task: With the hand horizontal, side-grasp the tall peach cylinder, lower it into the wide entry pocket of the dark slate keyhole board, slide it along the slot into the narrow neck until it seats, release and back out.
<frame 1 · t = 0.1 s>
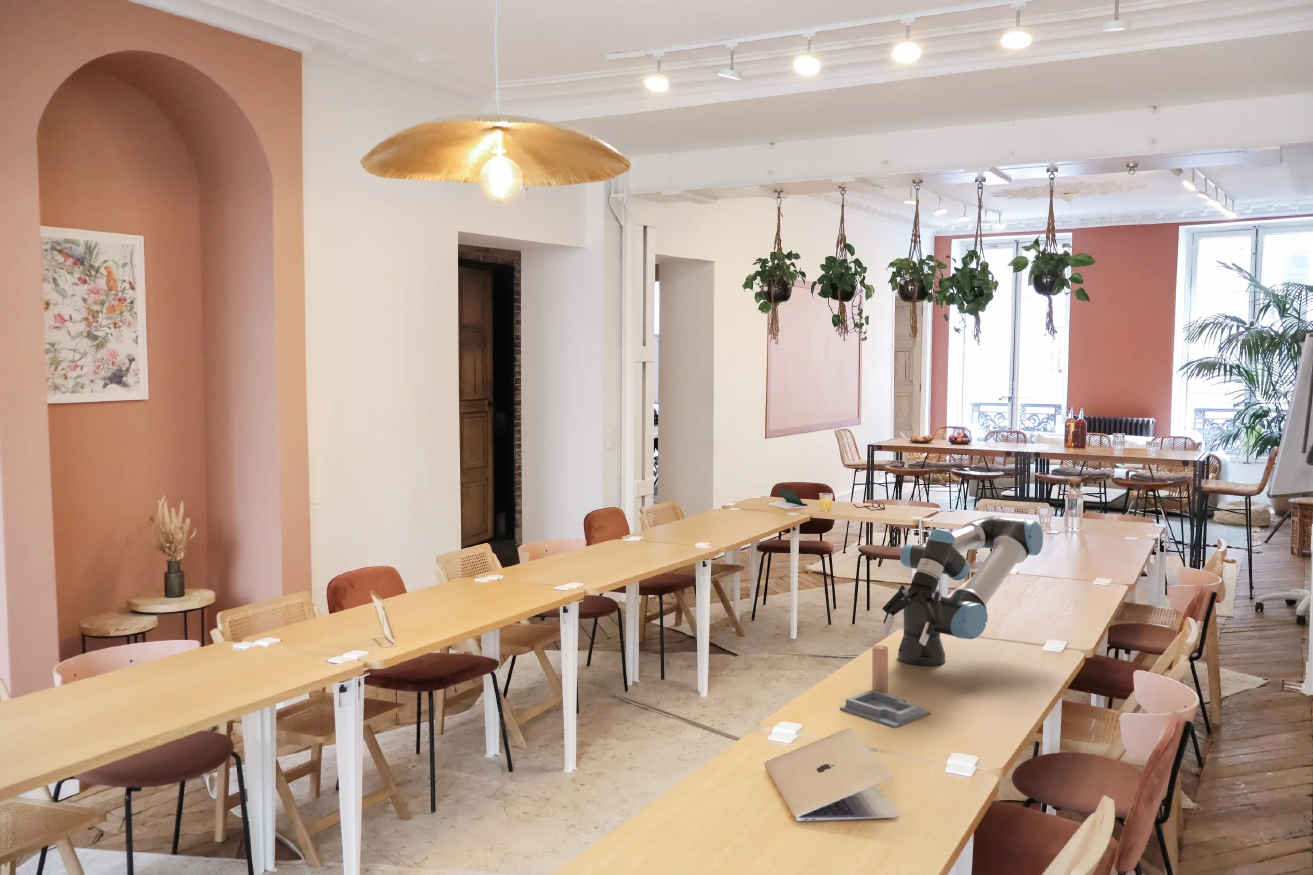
hand: (902, 639, 294), 15 cm above the table, tool tilted 35°, fingers open, 13 cm apart
keyhole board: (884, 711, 276), on the table
tall peach cylinder: (880, 693, 290), on the table
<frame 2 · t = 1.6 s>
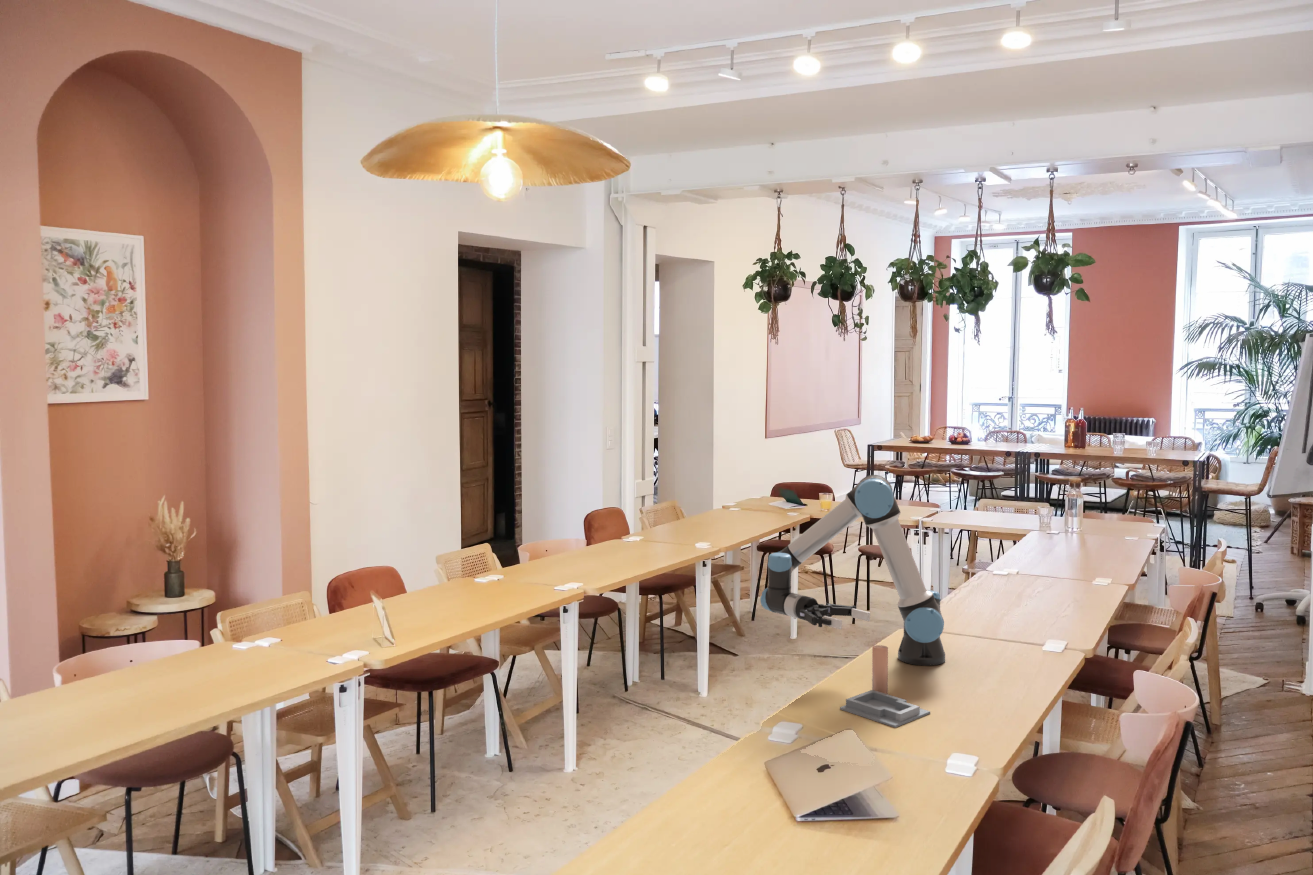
hand: (855, 620, 296), 20 cm above the table, tool horizontal, fingers open, 13 cm apart
nothing on the table moved.
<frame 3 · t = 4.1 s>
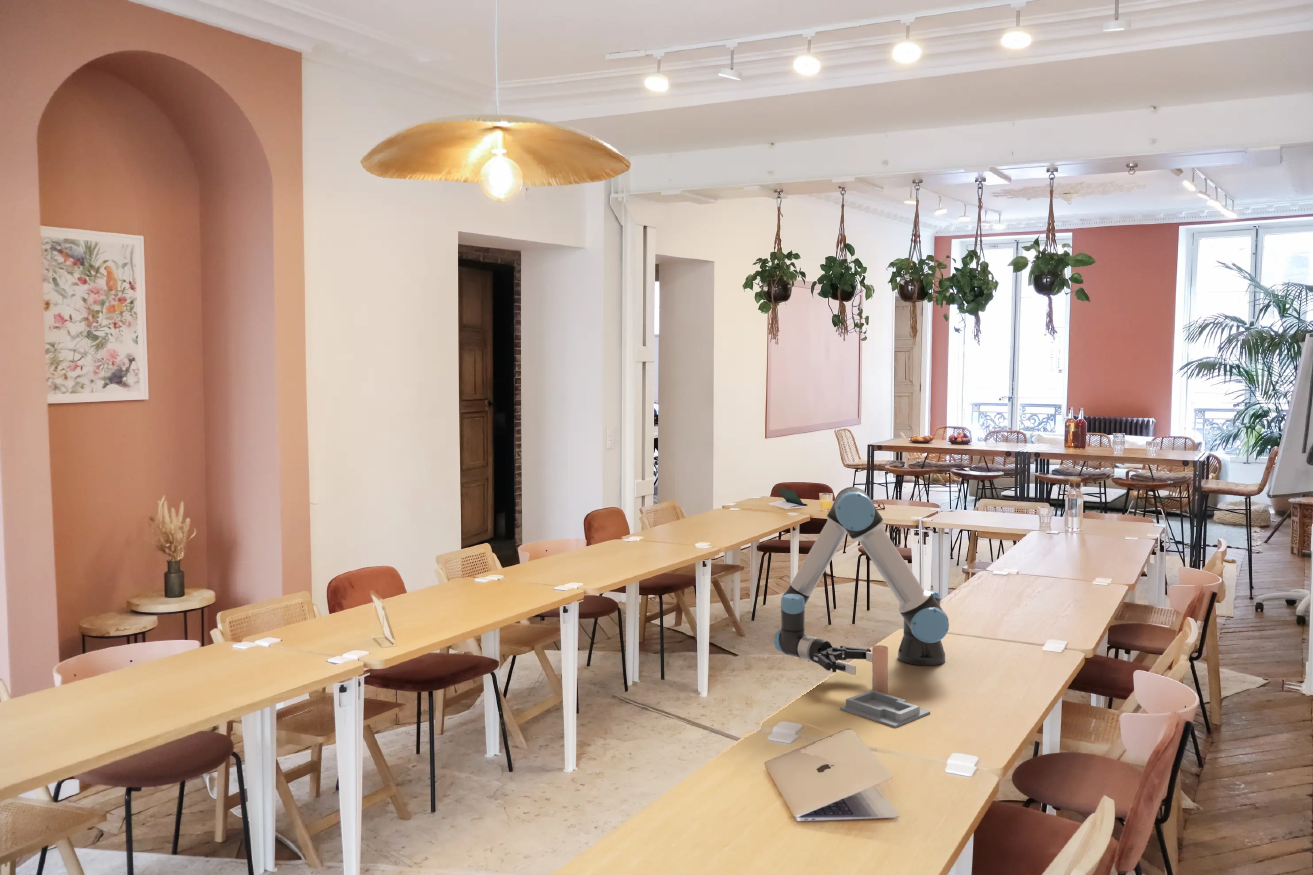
hand: (870, 665, 292), 8 cm above the table, tool horizontal, fingers open, 13 cm apart
nothing on the table moved.
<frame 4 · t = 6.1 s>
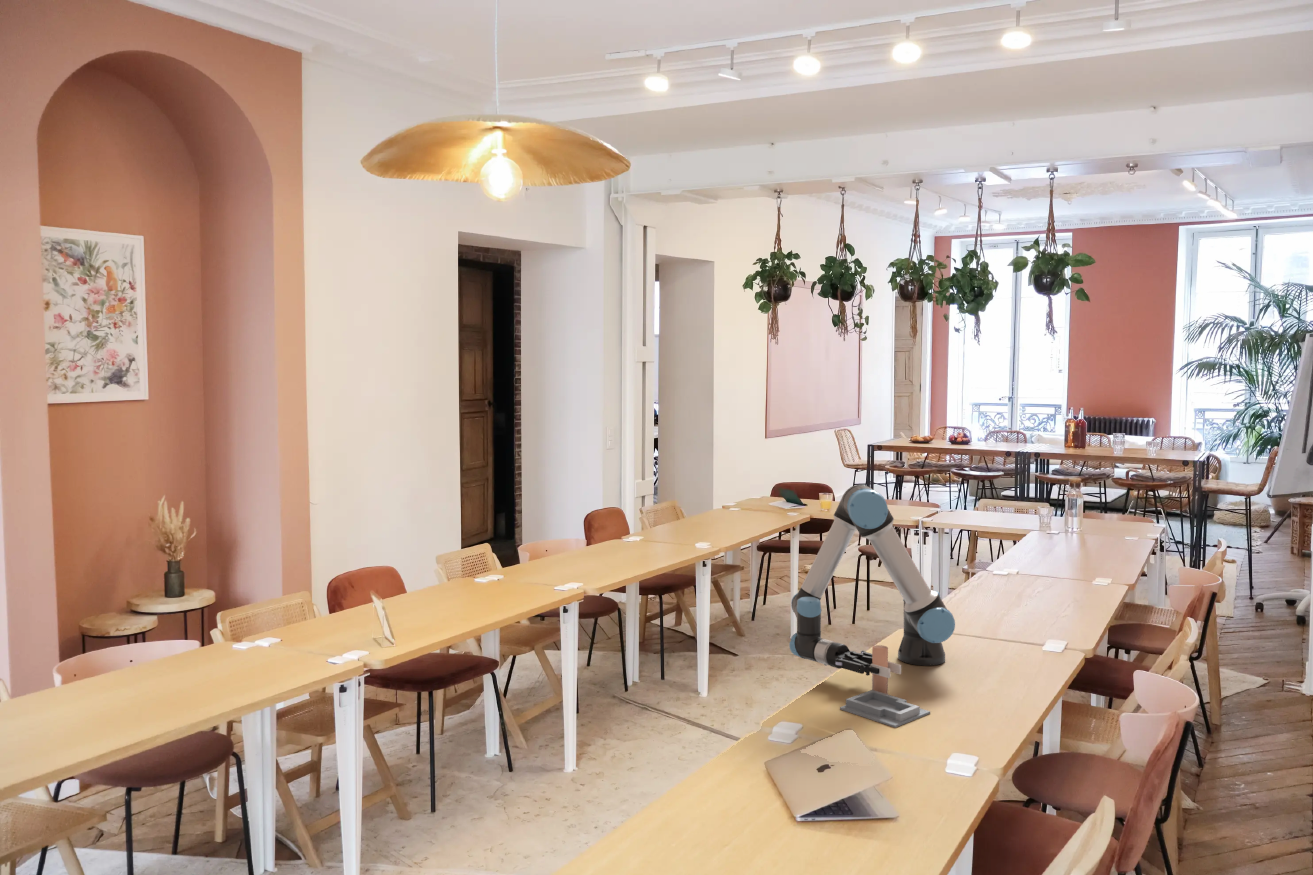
hand: (894, 671, 286), 8 cm above the table, tool horizontal, fingers closed on tall peach cylinder, 4 cm apart
tall peach cylinder: (879, 693, 290), on the table, touching gripper
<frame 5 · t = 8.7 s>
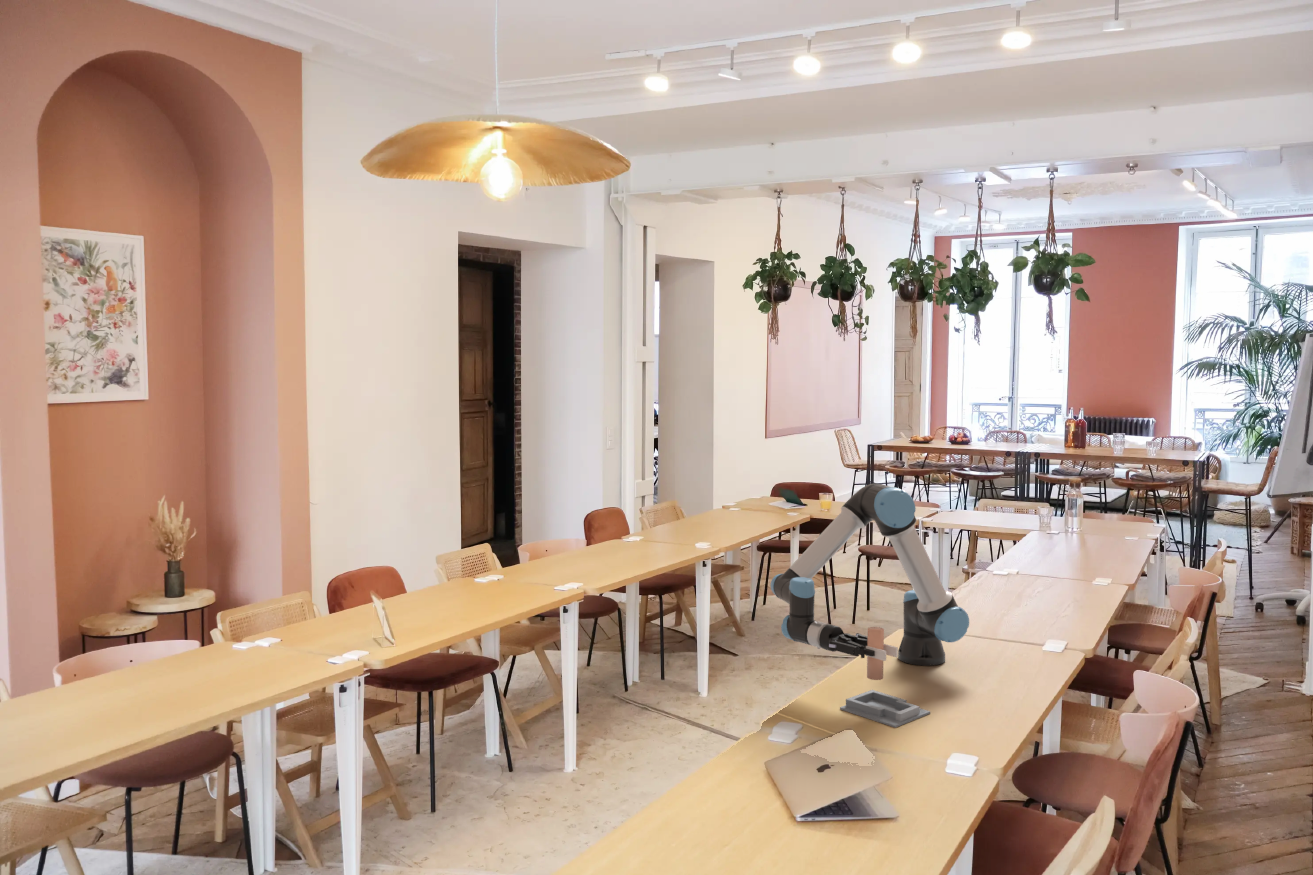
hand: (891, 653, 273), 17 cm above the table, tool horizontal, fingers closed on tall peach cylinder, 4 cm apart
tall peach cylinder: (875, 677, 277), point 9 cm above the table, touching gripper
when the fingers open (9 cm above the table, at t = 11.5 s): tall peach cylinder stays where it is, resting on keyhole board.
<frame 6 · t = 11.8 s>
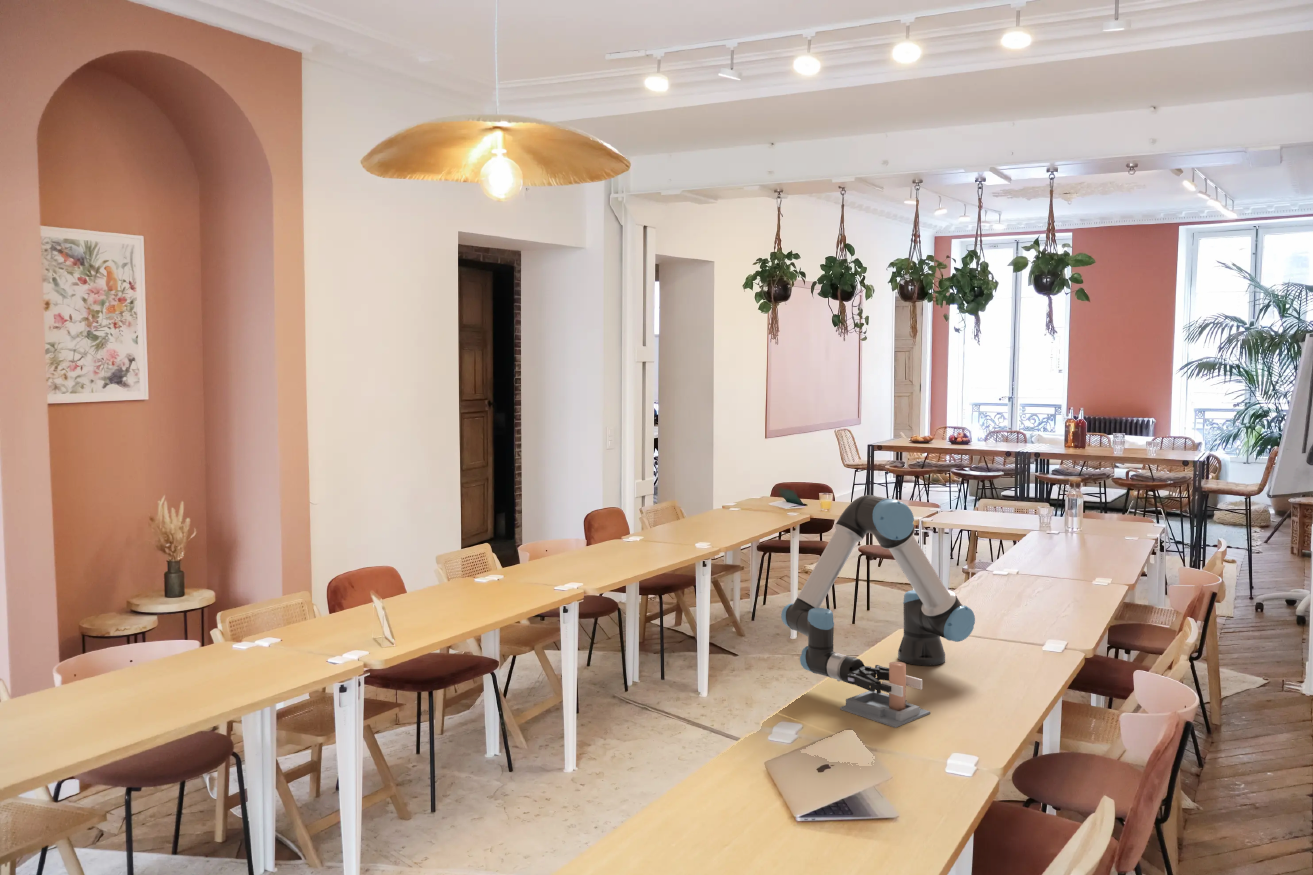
hand: (911, 687, 268), 9 cm above the table, tool horizontal, fingers open, 8 cm apart
tall peach cylinder: (897, 713, 273), point 1 cm above the table, touching keyhole board
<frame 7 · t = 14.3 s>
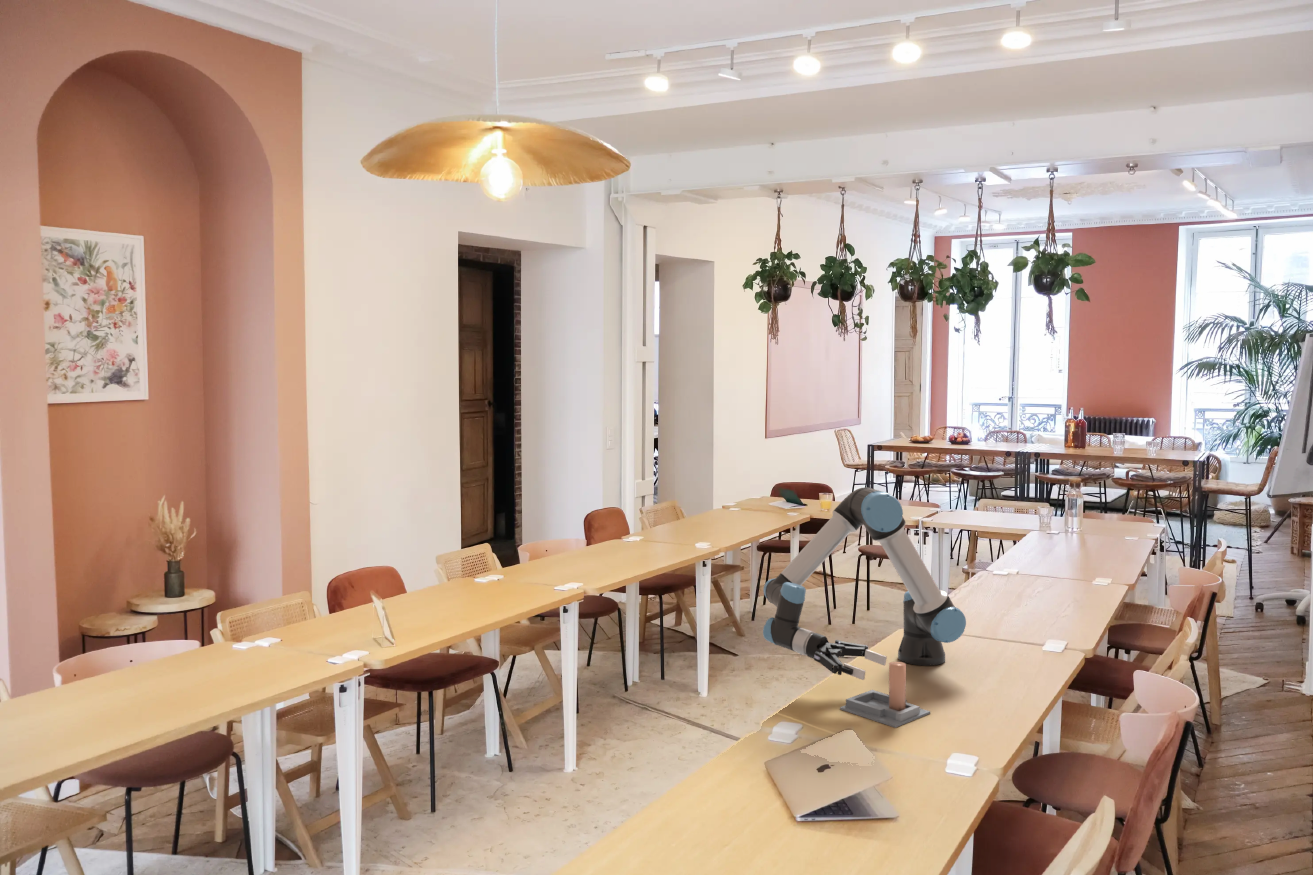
hand: (875, 667, 282), 10 cm above the table, tool horizontal, fingers open, 13 cm apart
nothing on the table moved.
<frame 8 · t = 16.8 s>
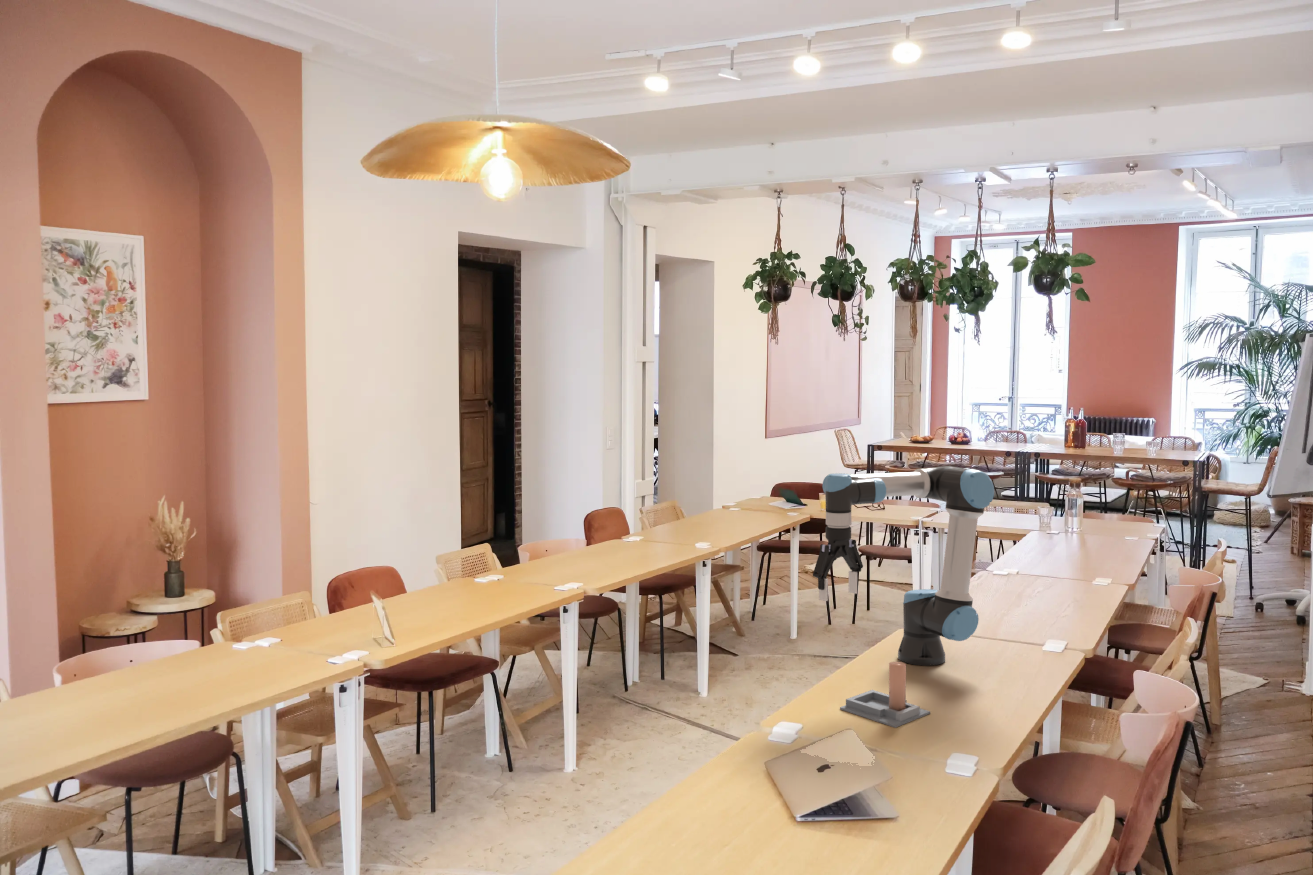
hand: (838, 596, 291), 29 cm above the table, tool pointing down, fingers open, 13 cm apart
nothing on the table moved.
at the end: tall peach cylinder 0.8 cm from the target spot on the keyhole board, point 0.6 cm above the keyhole board's base; tall peach cylinder tilted 0°; the gripper is holding nothing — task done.
